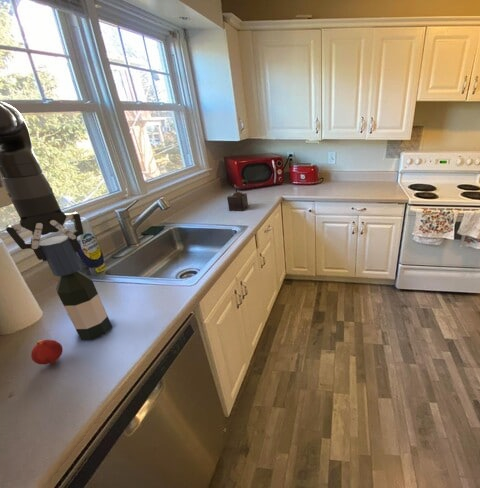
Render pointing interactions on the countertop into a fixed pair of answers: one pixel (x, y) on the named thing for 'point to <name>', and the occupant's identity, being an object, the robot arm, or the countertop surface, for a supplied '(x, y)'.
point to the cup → (60, 255)
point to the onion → (46, 352)
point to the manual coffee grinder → (238, 199)
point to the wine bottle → (83, 305)
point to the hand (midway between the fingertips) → (60, 255)
